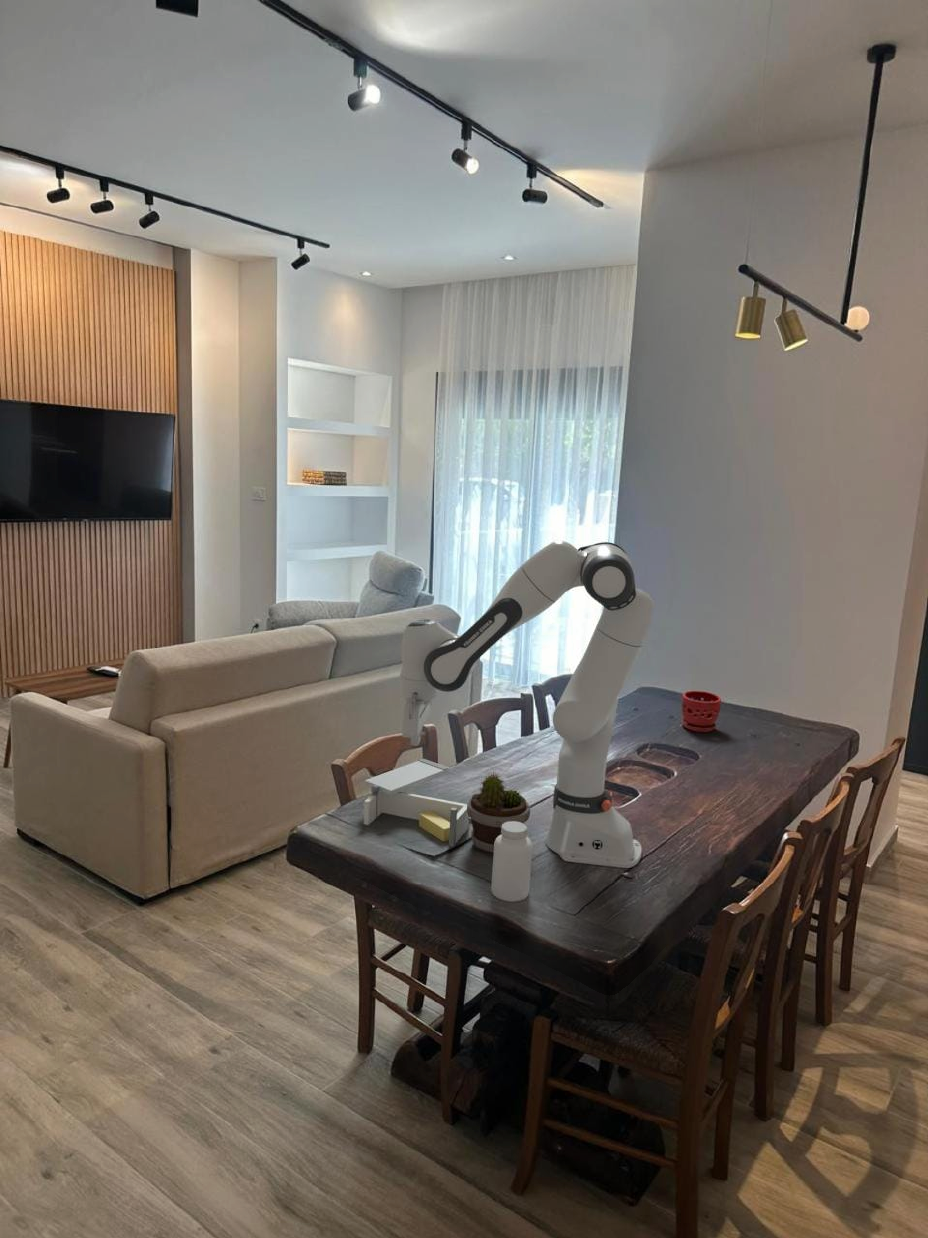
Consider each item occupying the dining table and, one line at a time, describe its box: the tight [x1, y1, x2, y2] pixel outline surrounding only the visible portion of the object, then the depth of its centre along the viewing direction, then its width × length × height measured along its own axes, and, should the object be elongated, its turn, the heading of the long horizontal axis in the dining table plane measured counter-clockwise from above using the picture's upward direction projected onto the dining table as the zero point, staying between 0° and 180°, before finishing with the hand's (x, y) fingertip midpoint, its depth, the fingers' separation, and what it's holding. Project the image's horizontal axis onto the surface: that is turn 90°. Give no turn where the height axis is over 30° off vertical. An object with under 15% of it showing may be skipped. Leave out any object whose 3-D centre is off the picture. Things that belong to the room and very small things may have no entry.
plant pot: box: [681, 690, 722, 733], centre depth 289 cm, size 13×13×12 cm
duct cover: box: [364, 758, 450, 795], centre depth 213 cm, size 24×9×1 cm, turn 141°
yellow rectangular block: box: [418, 811, 450, 842], centre depth 200 cm, size 10×3×3 cm, turn 38°
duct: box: [363, 791, 471, 847], centre depth 201 cm, size 24×11×9 cm, turn 71°
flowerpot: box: [466, 771, 531, 856], centre depth 192 cm, size 14×15×20 cm
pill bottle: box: [490, 821, 533, 903], centre depth 172 cm, size 8×8×15 cm
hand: (415, 743), depth 197 cm, fingers closed
